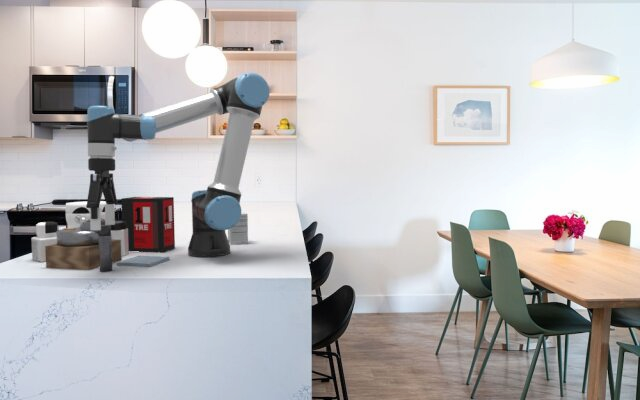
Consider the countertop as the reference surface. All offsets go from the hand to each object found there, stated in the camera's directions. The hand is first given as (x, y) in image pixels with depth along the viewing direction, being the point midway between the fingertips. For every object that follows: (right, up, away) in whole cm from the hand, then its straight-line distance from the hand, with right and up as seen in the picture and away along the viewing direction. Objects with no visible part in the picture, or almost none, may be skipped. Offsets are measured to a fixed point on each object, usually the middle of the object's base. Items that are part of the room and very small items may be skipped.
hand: (103, 227), depth 152 cm
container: (-28, -12, +20) cm, 37 cm away
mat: (+8, -13, +14) cm, 20 cm away
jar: (-8, -12, +28) cm, 31 cm away
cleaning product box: (+1, -11, +38) cm, 40 cm away
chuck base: (-11, -13, +12) cm, 21 cm away
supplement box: (+33, -10, +53) cm, 63 cm away
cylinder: (0, -14, +1) cm, 14 cm away
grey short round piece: (-11, -5, +12) cm, 17 cm away
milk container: (-24, -11, +42) cm, 49 cm away
